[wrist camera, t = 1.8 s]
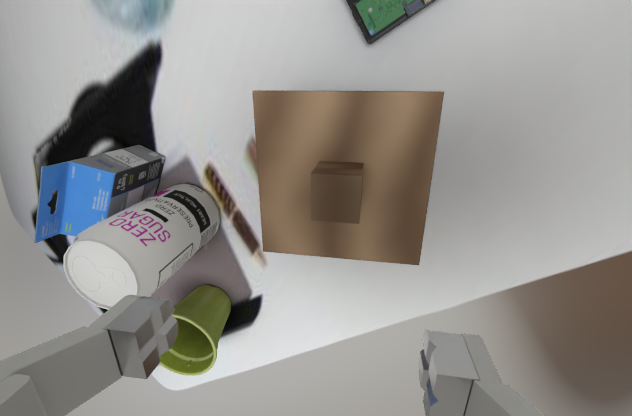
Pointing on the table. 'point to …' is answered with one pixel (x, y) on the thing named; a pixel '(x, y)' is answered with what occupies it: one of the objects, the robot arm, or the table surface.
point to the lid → (346, 171)
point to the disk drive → (383, 15)
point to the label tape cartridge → (95, 189)
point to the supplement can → (141, 245)
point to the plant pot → (197, 331)
